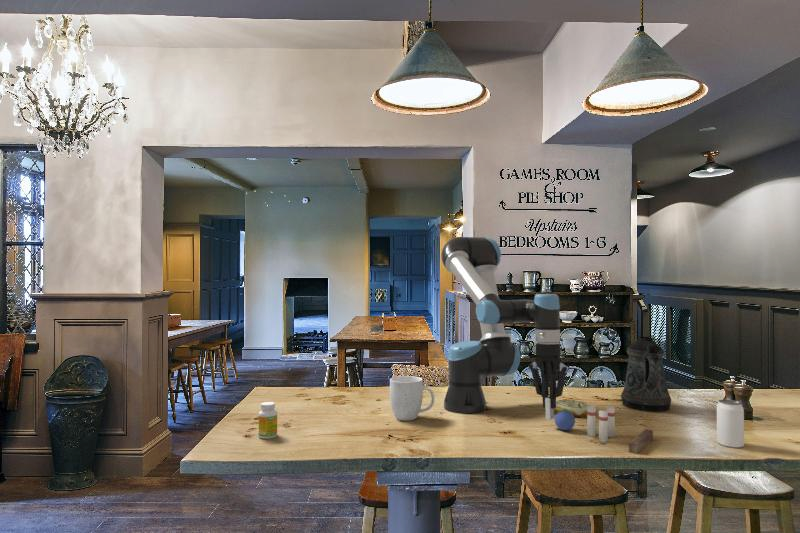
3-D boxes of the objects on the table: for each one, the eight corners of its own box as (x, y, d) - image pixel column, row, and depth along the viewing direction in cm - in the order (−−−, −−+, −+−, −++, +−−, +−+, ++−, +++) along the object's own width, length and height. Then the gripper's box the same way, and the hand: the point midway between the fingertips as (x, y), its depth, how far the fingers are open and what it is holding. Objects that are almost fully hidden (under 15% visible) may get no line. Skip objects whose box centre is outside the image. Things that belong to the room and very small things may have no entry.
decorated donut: (584, 420, 171) (584, 408, 171) (549, 415, 178) (549, 403, 178) (593, 412, 180) (593, 401, 180) (560, 407, 187) (560, 396, 187)
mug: (432, 413, 179) (432, 375, 179) (436, 422, 168) (436, 382, 168) (389, 413, 178) (389, 375, 178) (389, 423, 167) (390, 382, 167)
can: (711, 441, 149) (711, 399, 150) (732, 440, 150) (732, 398, 150) (727, 448, 143) (727, 405, 143) (749, 448, 144) (749, 404, 144)
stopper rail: (628, 452, 140) (628, 442, 140) (645, 437, 153) (645, 429, 153) (636, 453, 139) (636, 444, 139) (653, 439, 151) (652, 430, 151)
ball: (557, 408, 158) (573, 421, 155) (565, 404, 163) (581, 417, 159) (547, 423, 161) (563, 436, 157) (556, 418, 165) (572, 431, 161)
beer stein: (646, 399, 199) (646, 334, 199) (689, 412, 181) (688, 340, 181) (611, 402, 194) (610, 335, 194) (651, 416, 176) (651, 342, 176)
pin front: (585, 435, 155) (585, 406, 155) (588, 433, 157) (588, 405, 157) (594, 437, 153) (594, 408, 153) (597, 435, 155) (597, 406, 155)
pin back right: (597, 441, 149) (597, 411, 150) (600, 438, 151) (600, 409, 151) (606, 442, 148) (606, 412, 148) (609, 440, 150) (609, 411, 150)
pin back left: (604, 436, 154) (604, 407, 154) (607, 434, 156) (607, 405, 156) (613, 437, 152) (613, 408, 153) (616, 435, 154) (615, 407, 154)
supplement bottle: (267, 440, 150) (267, 406, 150) (254, 437, 153) (254, 404, 153) (281, 435, 155) (281, 402, 155) (268, 432, 157) (268, 400, 158)
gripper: (523, 342, 165) (525, 417, 164) (562, 345, 156) (564, 424, 155) (534, 340, 171) (536, 413, 170) (572, 343, 162) (574, 419, 161)
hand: (549, 418), depth 162 cm, fingers closed
